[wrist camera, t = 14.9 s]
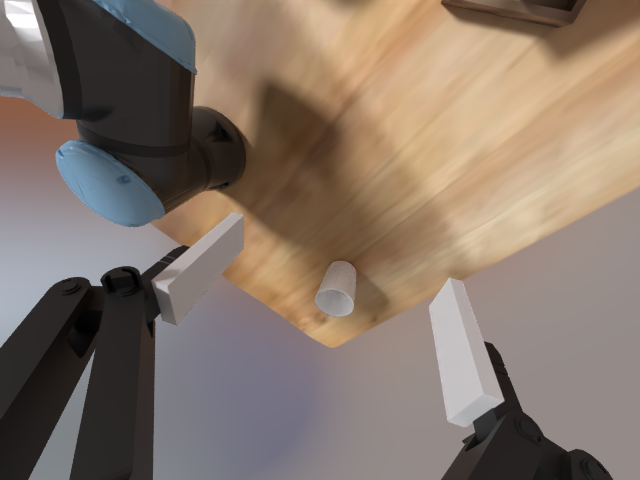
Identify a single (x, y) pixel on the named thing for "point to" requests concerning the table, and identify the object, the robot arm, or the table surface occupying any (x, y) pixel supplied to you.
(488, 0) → the walnut tray
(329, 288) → the white cup
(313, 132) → the table surface
